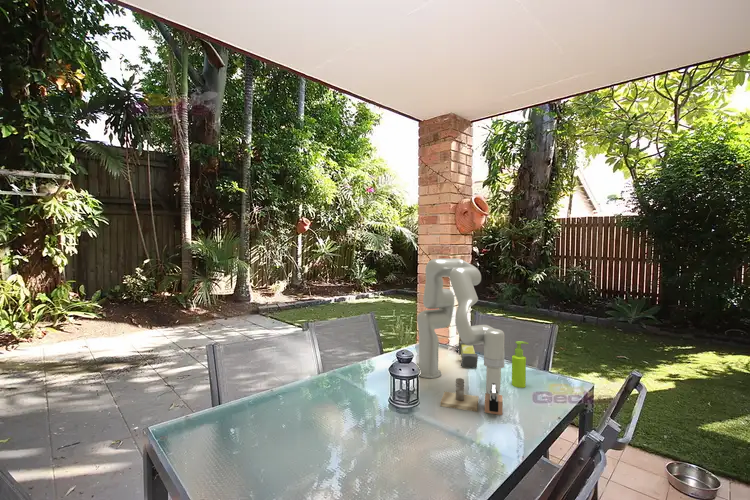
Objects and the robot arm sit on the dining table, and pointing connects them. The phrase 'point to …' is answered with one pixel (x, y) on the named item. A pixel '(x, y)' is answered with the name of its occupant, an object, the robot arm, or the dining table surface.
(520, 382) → the soap dispenser
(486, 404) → the peach cube
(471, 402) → the board
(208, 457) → the dining table surface
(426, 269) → the robot arm
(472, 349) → the grey and yellow block
